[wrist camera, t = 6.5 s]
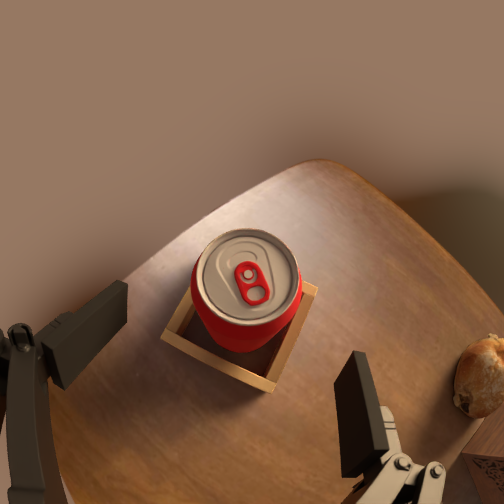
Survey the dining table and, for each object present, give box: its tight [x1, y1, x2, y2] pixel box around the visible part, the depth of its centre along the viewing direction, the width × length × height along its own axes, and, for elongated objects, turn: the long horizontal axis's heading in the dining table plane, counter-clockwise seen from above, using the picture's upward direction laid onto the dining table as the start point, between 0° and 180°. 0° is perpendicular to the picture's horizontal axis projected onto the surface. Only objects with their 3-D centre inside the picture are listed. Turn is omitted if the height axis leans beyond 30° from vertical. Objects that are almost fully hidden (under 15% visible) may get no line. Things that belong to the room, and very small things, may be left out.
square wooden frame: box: [160, 281, 318, 394], centre depth 23 cm, size 10×10×2 cm
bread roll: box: [453, 333, 504, 419], centre depth 20 cm, size 10×10×8 cm
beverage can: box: [190, 228, 302, 353], centre depth 19 cm, size 6×6×12 cm
